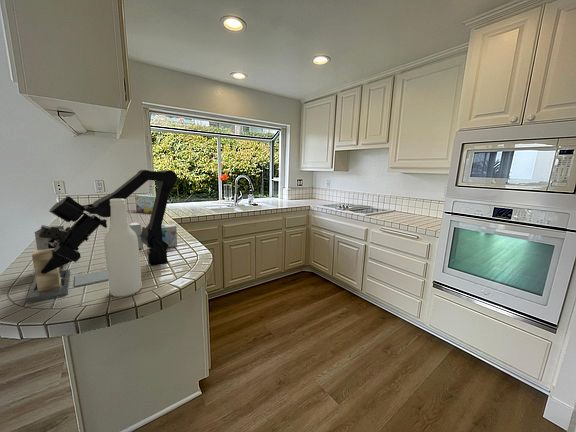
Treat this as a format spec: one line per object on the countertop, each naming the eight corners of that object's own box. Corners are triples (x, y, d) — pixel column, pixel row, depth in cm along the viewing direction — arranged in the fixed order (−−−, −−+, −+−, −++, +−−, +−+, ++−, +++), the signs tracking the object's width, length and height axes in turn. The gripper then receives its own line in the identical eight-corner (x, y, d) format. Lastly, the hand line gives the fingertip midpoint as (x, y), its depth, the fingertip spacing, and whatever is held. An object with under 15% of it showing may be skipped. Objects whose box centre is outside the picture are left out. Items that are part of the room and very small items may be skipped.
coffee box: (63, 271, 94) (57, 230, 91) (40, 275, 91) (33, 232, 88) (69, 263, 102) (64, 225, 99) (48, 266, 99) (42, 226, 96)
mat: (109, 270, 97) (108, 269, 97) (111, 279, 89) (111, 278, 89) (75, 276, 90) (75, 275, 90) (74, 287, 83) (74, 285, 83)
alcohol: (142, 293, 80) (134, 200, 74) (108, 300, 75) (97, 201, 70) (142, 282, 87) (134, 197, 82) (111, 288, 83) (101, 198, 77)
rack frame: (70, 273, 93) (69, 269, 93) (68, 294, 78) (67, 289, 78) (36, 279, 88) (35, 275, 87) (26, 303, 72) (26, 298, 72)
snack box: (136, 211, 222) (134, 194, 219) (141, 211, 227) (140, 194, 224) (154, 213, 215) (153, 196, 212) (159, 212, 220) (158, 195, 218)
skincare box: (143, 248, 124) (141, 224, 122) (133, 250, 121) (131, 225, 119) (139, 245, 128) (137, 222, 126) (129, 247, 125) (127, 223, 123)
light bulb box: (155, 249, 122) (153, 228, 120) (152, 246, 127) (150, 225, 125) (178, 245, 129) (176, 225, 127) (174, 242, 134) (173, 223, 132)
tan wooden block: (61, 284, 84) (55, 247, 82) (60, 290, 80) (54, 252, 78) (40, 289, 81) (34, 250, 79) (38, 295, 77) (31, 255, 75)
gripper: (52, 212, 85) (9, 250, 79) (61, 220, 73) (12, 265, 67) (84, 230, 93) (47, 266, 86) (97, 240, 80) (56, 283, 74)
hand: (41, 270), depth 78 cm, fingers open, 6 cm apart
